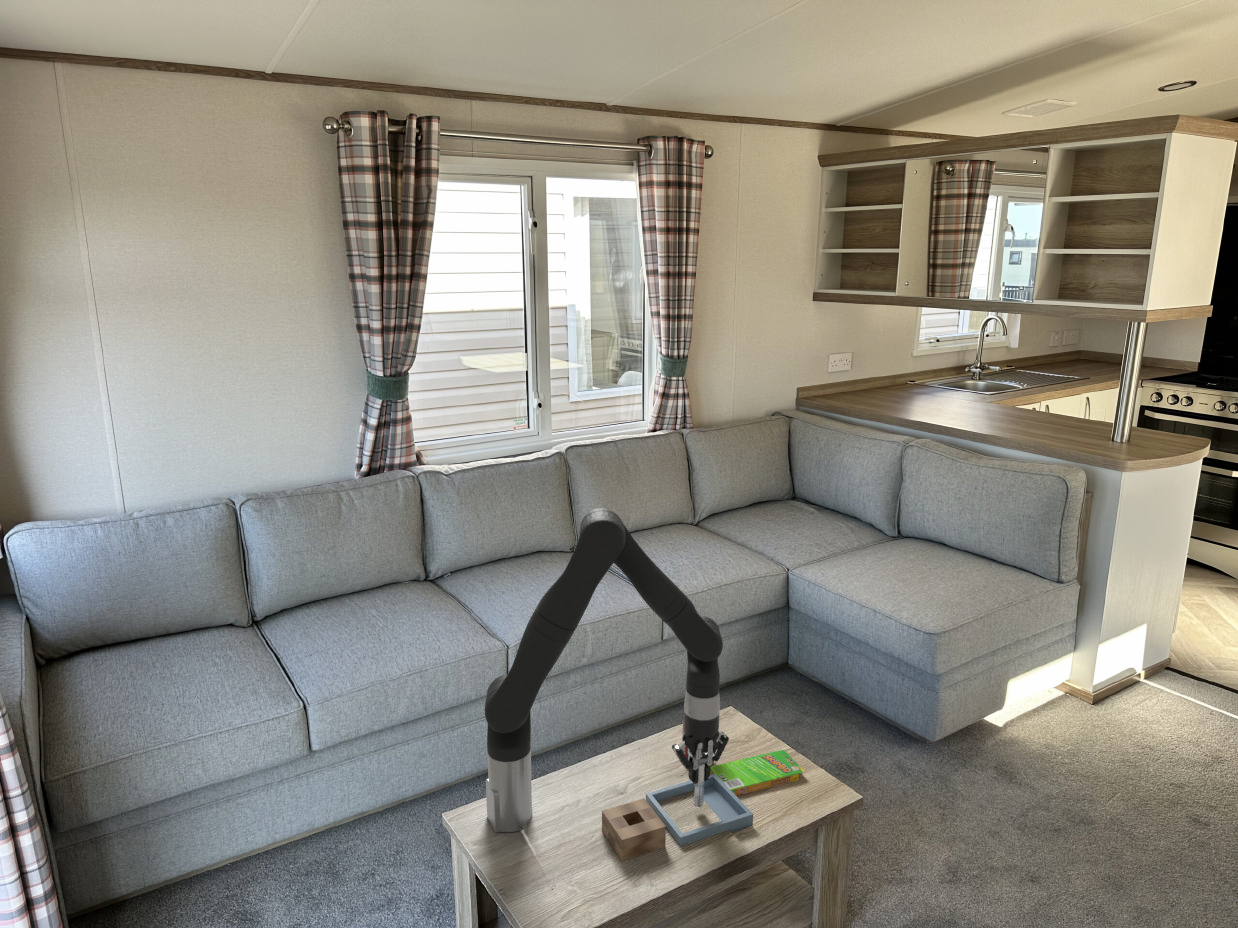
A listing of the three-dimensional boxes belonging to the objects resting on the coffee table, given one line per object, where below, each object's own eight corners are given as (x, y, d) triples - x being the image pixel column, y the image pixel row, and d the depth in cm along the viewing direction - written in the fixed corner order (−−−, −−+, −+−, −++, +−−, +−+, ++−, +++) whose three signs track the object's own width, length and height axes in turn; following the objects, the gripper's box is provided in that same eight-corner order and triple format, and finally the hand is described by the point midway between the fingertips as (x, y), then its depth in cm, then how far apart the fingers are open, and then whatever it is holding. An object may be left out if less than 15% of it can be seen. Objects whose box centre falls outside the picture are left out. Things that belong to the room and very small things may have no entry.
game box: (709, 777, 204) (783, 756, 211) (728, 802, 195) (805, 779, 202) (709, 766, 203) (784, 745, 210) (728, 790, 195) (806, 768, 201)
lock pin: (695, 810, 186) (697, 761, 183) (687, 801, 189) (689, 753, 186) (709, 806, 187) (711, 758, 184) (701, 797, 190) (703, 749, 187)
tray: (680, 849, 178) (680, 837, 177) (645, 804, 192) (645, 793, 191) (752, 825, 186) (753, 813, 185) (714, 784, 200) (714, 773, 199)
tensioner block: (621, 864, 174) (622, 839, 172) (601, 834, 182) (601, 810, 181) (665, 850, 178) (665, 826, 176) (643, 821, 187) (644, 798, 185)
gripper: (682, 725, 176) (679, 798, 180) (738, 710, 182) (735, 781, 186) (665, 707, 183) (663, 778, 187) (720, 694, 188) (717, 762, 193)
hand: (699, 779), depth 187 cm, fingers closed on lock pin, 2 cm apart
